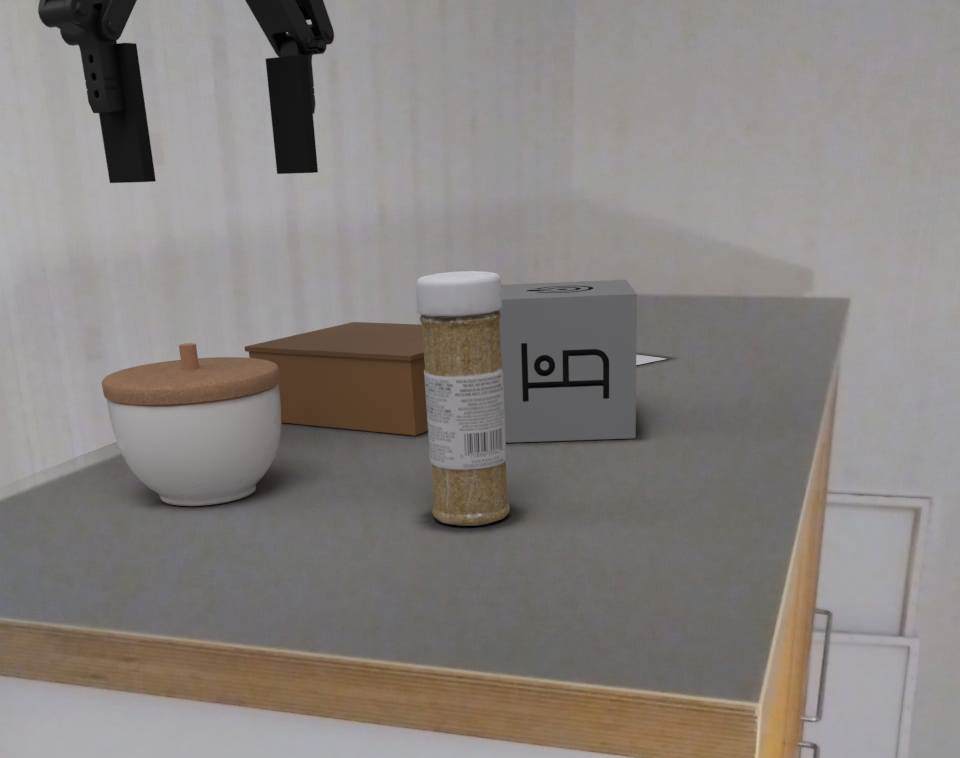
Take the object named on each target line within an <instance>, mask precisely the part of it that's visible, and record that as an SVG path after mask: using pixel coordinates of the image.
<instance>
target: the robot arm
mask: <svg viewBox="0 0 960 758" xmlns="http://www.w3.org/2000/svg"><path fill="white" fill-rule="evenodd" d="M137 1H138V0H39V2H38V6H37V7H38V8H37V12H38V16H39V20H40V21H41V23H42V24H43V25H44V26H45V27H47V28H57V29H59V32H60V33H59V34H60V36H61V39H62V40H63V41H64V43H65V44H67V45H69V46H72V47H74V46H75V47H76V46H78V48H79V51H80V57H81V63H82V70H83V76H84V81H85V82H84V83H85V89H86V94H87V96H86V97H87V101H88V104H89V107H90V109H91V111H92V113H93V114H98V117H99V123H100V129H101V136H102V143H103V149H104V154H105V161H106V167H107V173H108V174H107V175H108V180H109V184H125V183H126V184H127V183H128V184H129V183H151V182H152V183H154V182H157V181H156V173H155V166H154V159H153V153H152V145H151V138H150V137H151V136H150V131H149V124H148V123H149V122H148V118H147V117H148V115H147V110H146V109H147V108H146V103H145V96H144V88H143V81H142V74H141V67H140V59H139V54H138V53H139V52H138V46H137V43H135V42H120V43H118V40H119V39H120V38H121V36H122V34H123V32H124V30H125V28H126V25H127V23H128V21H129V19H130V17H131V14H132V12H133V10H134V7H135V5H136V3H137ZM244 1H245V3H246V4H247V6H248V8H249V10H250V11H251V13H252V15H253V17H254V18H255V20H256V22H257V23H258V25H259V27H260V29H261V31H262V32H263V34H264V36H265V37H266V39H267V41H268V43H269V44H270V46H271V48H272V49H273V52H274V53H275V55H276V56H277V57H268V58H265V68H266V78H267V86H268V97H269V106H270V117H271V124H272V126H271V127H272V137H273V146H274V155H275V167H276V174H277V175H286V174H287V175H289V174H315V173H319V169H318V157H317V145H316V135H315V123H314V122H315V121H314V114H315V111H316V96H315V88H314V87H315V84H314V82H315V81H314V72H313V56H314V55H315V56H316V55H322V54H325V52H326V50H327V46H328V45H331V44H332V43H333V42H334V39H335V32H334V31H335V30H334V28H333V25H332V22H331V19H330V16H329V13H328V10H327V8H326V4H325V2H324V0H244ZM308 21H310V22H311V23H308Z"/></svg>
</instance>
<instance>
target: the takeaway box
mask: <svg viewBox="0 0 960 758" xmlns="http://www.w3.org/2000/svg"><path fill="white" fill-rule="evenodd" d="M422 332H423V331H422V324H421V323H420V324H416V323H415V324H414V323H394V322H393V323H390V322H363V321H352V322H347V323H344V324H343V323H342V324H339V325H338V324H337V325H334V326H330V327H329V326H328V327H325V328H320V329H316V330H311V331H307V332H303V333H298V334H295V335H290V336H286V337H281V338H280V337H279V338H276V339H271V340H267V341H263V342H258V343H254V344H250V345H246V346H244V352H247V353H248V358H256V359H263V360H268V361H271V362H273V363H275V364H277V366H278V368H279V374H280V382H279V391H280V400H281V424H292V425H301V426H303V425H304V426H314V427H323V428H333V429H345V430H353V431H354V430H355V431H365V432H374V433H384V434H393V435H404V436H414V437H415V436H418V435H421V434H424V433H426V432H428V422H427V408H426V393H425V378H424V370H425V362H424V349H423V334H422Z"/></svg>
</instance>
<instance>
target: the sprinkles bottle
mask: <svg viewBox="0 0 960 758" xmlns="http://www.w3.org/2000/svg"><path fill="white" fill-rule="evenodd" d="M501 278H502V277H501V276H500V275H499V274H498V273H496V272H492V271H482V270H464V271H462V270H460V271H458V270H457V271H447V272H437V273H432V274H427V275H424V276H423V275H422V276H421V277H419V278H417V280H416V281H415V287H416V288H415V293H416V308H417V313H418V314H420V316H419V322H420V324H421V325H422V331H423V332H422V334H423V349H424V362H425V370H424V378H425V393H426V408H427V422H428V431H427V436H428V448H429V453H428V454H429V461H430V466H431V477H432V478H431V479H432V495H433V507H432V516H433V517H434V518H435V519H436V520H438V522H441V523H443V524H446V525H452V526H463V527H465V526H467V527H468V526H486V525H489V524H492V523H496V522H498V521H500V520H502V519H504V518H506V517H507V515H508V514H510V510H511V507H510V503H509V500H508V489H507V487H508V484H507V463H506V460H507V445H506V439H505V411H504V386H503V370H502V359H501V341H500V326H499V324H500V317H501V312H500V311H499V310H500V309H501V308H502V289H501V285H502V279H501Z"/></svg>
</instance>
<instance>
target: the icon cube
mask: <svg viewBox="0 0 960 758" xmlns="http://www.w3.org/2000/svg"><path fill="white" fill-rule="evenodd" d="M501 289H502V308H501V309H500V310H499V311H500V312H501V317H500V324H499V326H500V341H501V359H502V370H503V386H504V411H505V439H506V443H507V444H508V443H533V442H534V443H535V442H536V443H539V442H564V441H565V442H566V441H594V440H597V441H598V440H621V439H622V440H623V439H624V440H625V439H636V434H637V433H636V432H637V431H636V429H637V428H636V427H637V425H636V424H637V365H636V355H637V335H638V333H637V325H638V319H637V318H638V294H637V292H636V291H635V289H634V288H633V287H632V285H631V284H630V283H629V281H628V280H627V279H609V280H607V279H606V280H605V279H604V280H585V281H583V280H582V281H562V282H561V281H559V282H557V281H556V282H538V283H537V282H536V283H535V282H534V283H512V284H511V283H510V284H501Z"/></svg>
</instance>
